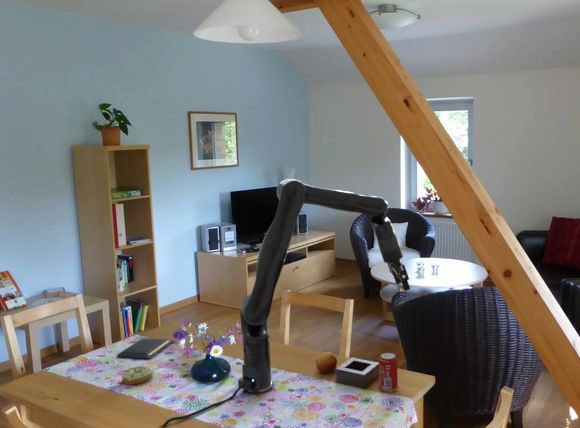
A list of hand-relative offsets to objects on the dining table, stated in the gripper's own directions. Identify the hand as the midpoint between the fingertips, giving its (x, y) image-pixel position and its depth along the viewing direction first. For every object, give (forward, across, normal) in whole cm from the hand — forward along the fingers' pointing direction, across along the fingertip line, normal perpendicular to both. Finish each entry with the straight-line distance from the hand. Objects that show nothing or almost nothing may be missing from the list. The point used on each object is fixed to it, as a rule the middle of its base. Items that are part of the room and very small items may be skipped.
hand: (403, 286), depth 212 cm
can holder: (+22, +7, -29) cm, 37 cm away
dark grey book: (-1, -47, -102) cm, 112 cm away
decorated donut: (-2, -17, -102) cm, 104 cm away
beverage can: (+25, +18, -21) cm, 38 cm away
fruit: (+20, -3, -38) cm, 43 cm away
